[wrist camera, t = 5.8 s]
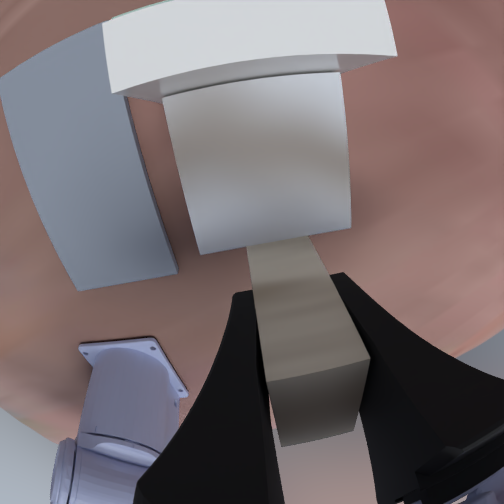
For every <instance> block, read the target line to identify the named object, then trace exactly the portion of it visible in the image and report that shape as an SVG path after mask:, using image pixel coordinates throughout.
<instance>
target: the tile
mask: <svg viewBox="0 0 504 504" xmlns="http://www.w3.org/2000/svg"><path fill="white" fill-rule="evenodd" d="M102 28H103V37H104V45H105V53H106V61H107V67H108V74H109V80H110V86H111V92H112V94H116V95H122V96H128V97H133V98H138V99H143V100H148V101H152V102H157V103H161V104H163V100H162V98H164V97H167V96H171V95H175V94H179V93H184V92H188V91H192V90H197V89H201V88H206V87H211V86H216V85H222V84H227V83H233V82H239V81H246V80H253V79H260V78H268V77H276V76H286V75H297V74H311V73H333V72H340V74H342V73H344V72H347V71H350V70H353V69H356V68H359V67H363V66H366V65H369V64H372V63H376V62H379V61H382V60H386V59H389V58H393V57H397V52H396V47H395V42H394V37H393V33H392V28H391V24H390V20H389V16H388V12H387V8H386V5H385V1H384V0H166V1H162V2H159V3H155V4H152V5H148V6H145V7H142V8H139V9H136V10H133V11H130V12H127V13H124V14H121V15H118V16H116V17H113V18H112V20H109V21H107V22H104V23H102Z"/></svg>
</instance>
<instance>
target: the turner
mask: <svg viewBox="0 0 504 504" xmlns="http://www.w3.org/2000/svg"><path fill="white" fill-rule="evenodd" d="M162 100H163V105H164V110H165V115H166V119H167V124H168V129H169V133H170V138H171V142H172V146H173V151H174V155H175V159H176V163H177V168H178V172H179V176H180V180H181V184H182V188H183V192H184V196H185V200H186V204H187V208H188V212H189V215H190V219H191V223H192V227H193V230H194V234H195V238H196V242H197V245H198V249H199V252H200V255H203V254H209V253H214V252H220V251H225V250H231V249H236V248H242V247H247V254H248V261H249V268H250V275H251V282H252V289H253V296H254V302H255V309H256V316H257V323H258V330H259V336H260V343H261V350H262V356H263V363H264V370H265V377H266V383H267V387H268V392H269V396H270V400H271V405H272V409H273V413H274V418H275V422H276V426H277V430H278V435H279V439H280V443H281V447H285V446H290V445H296V444H300V443H306V442H310V441H315V440H319V439H323V438H328V437H331V436H336V435H340V434H343V433H347V432H351V431H353V430H354V427H355V423H356V419H357V416H358V412H359V408H360V404H361V400H362V396H363V391H364V387H365V382H366V378H367V373H368V368H369V363H370V356H369V354H368V352H367V350H366V348H365V346H364V344H363V342H362V339H361V337H360V335H359V333H358V331H357V329H356V327H355V325H354V323H353V321H352V319H351V317H350V315H349V313H348V311H347V309H346V307H345V305H344V303H343V301H342V299H341V297H340V295H339V294H338V291H337V289H336V287H335V285H334V283H333V281H332V280H331V278H330V276H329V274H328V272H327V270H326V268H325V266H324V264H323V262H322V261H321V259H320V257H319V255H318V253H317V251H316V249H315V248H314V246H313V244H312V242H311V240H310V238H309V237H308V235H314V234H320V233H325V232H331V231H337V230H342V229H348V228H351V194H350V171H349V154H348V140H347V128H346V118H345V108H344V99H343V91H342V83H341V75H340V72H333V73H311V74H297V75H286V76H276V77H268V78H260V79H253V80H246V81H239V82H233V83H227V84H222V85H216V86H211V87H206V88H201V89H197V90H192V91H188V92H184V93H179V94H175V95H171V96H167V97H164V98H162Z"/></svg>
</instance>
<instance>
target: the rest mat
mask: <svg viewBox="0 0 504 504" xmlns="http://www.w3.org/2000/svg"><path fill="white" fill-rule="evenodd" d="M107 21H109V20H107ZM107 21H104V22H107ZM104 22H102V23H104ZM102 23H99V24H97V25H94V26H92V27H90V28H88V29H85V30H83V31H81V32H79V33H77V34H74V35H72V36H70V37H68V38H66V39H64V40H62V41H60V42H58V43H56V44H55V45H53V46H51V47H49V48H47V49H45V50H44V51H42V52H40V53H38V54H37V55H35V56H33V57H32V58H30V59H28V60H27V61H25V62H23V63H22V64H20V65H19V66H17V67H16V68H14V69H13V70H11V71H10V72H8V73H7V74H5V75H4V76H2V77H1V78H0V96H1V101H2V105H3V109H4V113H5V117H6V121H7V125H8V129H9V132H10V136H11V139H12V143H13V146H14V149H15V152H16V155H17V158H18V161H19V164H20V167H21V170H22V173H23V176H24V178H25V181H26V184H27V186H28V189H29V192H30V194H31V197H32V199H33V202H34V204H35V206H36V209H37V211H38V213H39V216H40V218H41V220H42V223H43V225H44V227H45V229H46V231H47V233H48V235H49V238H50V240H51V242H52V244H53V246H54V248H55V250H56V252H57V254H58V256H59V258H60V260H61V262H62V263H63V265H64V267H65V269H66V271H67V273H68V275H69V276H70V278H71V280H72V282H73V284H74V285H75V287H76V289H77V290H78V291H83V290H88V289H94V288H100V287H106V286H112V285H117V284H123V283H129V282H135V281H140V280H146V279H152V278H157V277H163V276H168V275H174V274H178V269H179V268H178V265H177V262H176V260H175V257H174V254H173V251H172V248H171V245H170V242H169V240H168V237H167V234H166V231H165V228H164V225H163V222H162V219H161V216H160V213H159V209H158V206H157V203H156V200H155V197H154V194H153V190H152V187H151V184H150V180H149V177H148V174H147V170H146V167H145V164H144V160H143V156H142V153H141V149H140V146H139V142H138V138H137V135H136V131H135V127H134V123H133V119H132V115H131V111H130V107H129V103H128V99H127V96H122V95H116V94H112V92H111V86H110V80H109V74H108V67H107V61H106V53H105V45H104V37H103V28H102Z"/></svg>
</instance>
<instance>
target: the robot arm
mask: <svg viewBox="0 0 504 504" xmlns="http://www.w3.org/2000/svg"><path fill="white" fill-rule="evenodd" d="M329 276H330V278H331V280H332V281H333V283H334V285H335V287H336V289H337V291H338V294H339V295H340V297H341V299H342V301H343V303H344V305H345V307H346V309H347V311H348V313H349V315H350V317H351V319H352V321H353V323H354V325H355V327H356V329H357V331H358V333H359V335H360V337H361V339H362V342H363V344H364V346H365V348H366V350H367V352H368V354H369V356H370V363H369V368H368V373H367V378H366V382H365V387H364V391H363V396H362V400H361V404H360V408H359V413H360V417H361V420H362V424H363V428H364V432H365V437H366V441H367V445H368V450H369V455H370V460H371V465H372V471H373V477H374V483H375V490H376V498H377V503H378V504H397V503H400V502H402V501H404V504H451V503H453V502H455V501H457V500H459V499H460V498H462V497H464V496H466V495H467V494H468V495H467V499H466V500H465V501H463V502H461V503H458V504H504V380H503V379H501V378H498V377H495V376H492V375H489V374H487V373H484V372H482V371H480V370H478V369H476V368H473V367H471V366H469V365H467V364H465V363H463V362H461V361H459V360H457V359H456V358H454V357H452V356H450V355H448V354H446V353H445V352H443V351H441V350H439V349H438V348H436V347H434V346H433V345H431V344H430V343H428V342H427V341H425V340H424V339H422V338H421V337H419V336H418V335H416V334H415V333H414V332H412V331H411V330H410V329H408V328H407V327H406V326H404V325H403V324H402V323H401V322H399V321H398V320H397V319H395V318H394V317H393V316H392V315H391V314H389V313H388V312H387V311H386V310H385V309H384V308H382V307H381V306H380V305H379V304H378V303H377V302H375V301H374V300H373V299H372V298H371V297H370V296H369V295H368V294H367V293H365V292H364V291H363V290H362V289H361V288H360V287H359V286H358V285H357V284H356V283H355V282H354V281H352V280H351V279H350V278H349V277H348V276H347V275H346V274H345V273H343V272H342V273H337V274H332V275H329ZM78 349H79V351H80V352H81V353H82V355H83V356H84V357H85V358H86V360H87V361H88V362H89V363H90V364H91V366H92V367H93V370H92V374H91V378H90V382H89V385H88V389H87V393H86V398H85V402H84V406H83V410H82V415H81V420H80V424H79V429H78V434H77V437H76V438H75V440H73V439H71V438H66V440H63V441H60V443H59V447H58V450H57V454H56V459H55V464H54V469H53V475H52V482H51V492H50V500H51V503H50V504H285V502H284V496H283V491H282V485H281V480H280V474H279V468H278V463H277V457H276V450H275V444H274V438H273V432H272V426H271V418H270V405H269V392H268V387H267V383H266V377H265V370H264V363H263V356H262V350H261V343H260V336H259V330H258V323H257V316H256V309H255V302H254V296H253V290H248V291H243V292H237V293H235V294H234V295H233V297H232V304H231V310H230V314H229V318H228V322H227V325H226V329H225V332H224V335H223V338H222V341H221V344H220V347H219V350H218V352H217V355H216V358H215V360H214V363H213V365H212V368H211V370H210V372H209V375H208V377H207V379H206V381H205V383H204V385H203V387H202V389H201V391H200V393H199V395H198V397H197V399H196V401H195V402H194V404H193V406H192V408H191V409H190V411H189V413H188V415H187V416H186V418H185V420H184V421H183V423H182V424H181V426H180V427H179V402H180V398H183V397H188V395H189V393H188V391H187V389H186V388H185V386H184V385H183V383H182V382H181V380H180V378H179V377H178V375H177V374H176V372H175V371H174V369H173V367H172V366H171V364H170V362H169V361H168V359H167V357H166V356H165V354H164V352H163V351H162V349H161V347H160V346H159V344H158V342H157V341H156V340H155V339H154V338H142V339H132V340H123V341H112V342H100V343H88V344H80V345H79V347H78Z"/></svg>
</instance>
